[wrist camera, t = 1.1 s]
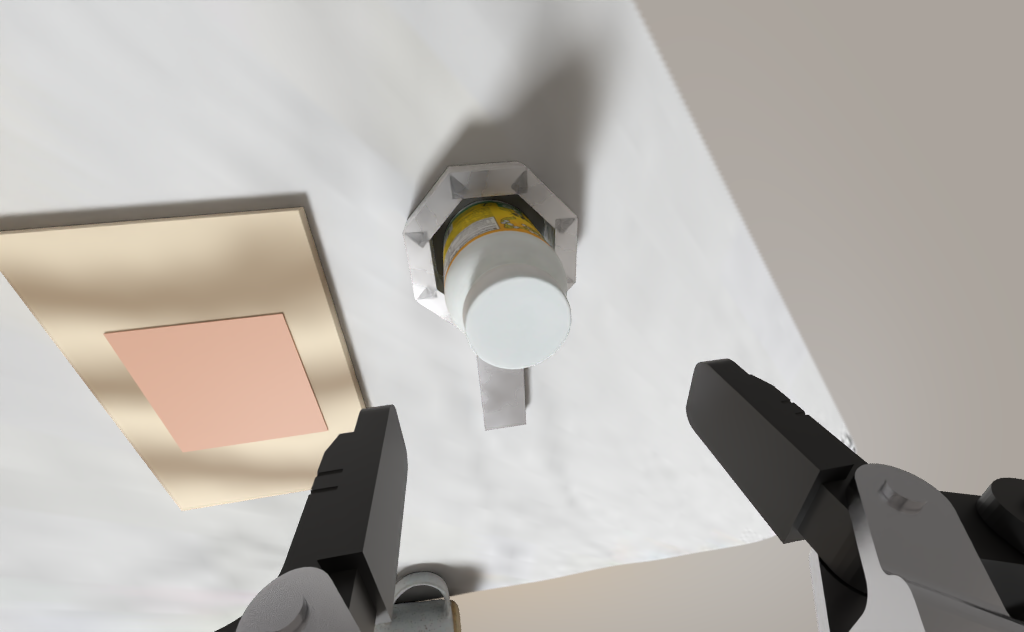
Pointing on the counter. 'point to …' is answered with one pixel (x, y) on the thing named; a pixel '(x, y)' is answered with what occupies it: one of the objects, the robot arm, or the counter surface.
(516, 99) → the counter surface
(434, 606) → the ceramic mug
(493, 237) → the supplement bottle
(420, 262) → the ring
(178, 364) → the birch board
